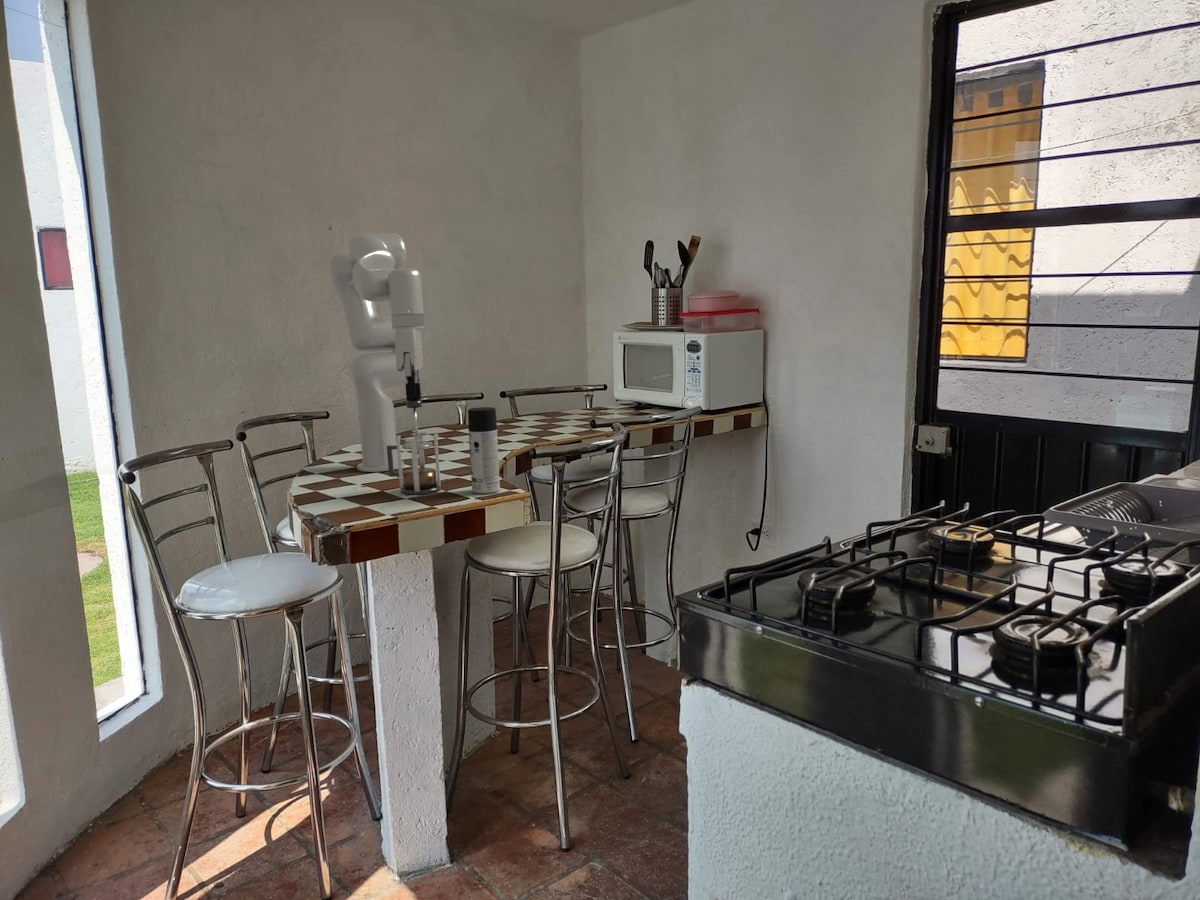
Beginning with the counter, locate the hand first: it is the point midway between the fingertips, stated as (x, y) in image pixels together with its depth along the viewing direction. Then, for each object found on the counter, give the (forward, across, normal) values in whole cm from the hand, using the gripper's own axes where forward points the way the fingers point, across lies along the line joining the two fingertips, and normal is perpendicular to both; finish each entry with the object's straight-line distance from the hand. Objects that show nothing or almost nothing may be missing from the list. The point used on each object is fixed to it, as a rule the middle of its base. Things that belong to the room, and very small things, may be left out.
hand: (414, 399), depth 207 cm
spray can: (+23, +3, +16) cm, 28 cm away
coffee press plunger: (+11, 0, 0) cm, 11 cm away
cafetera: (+22, 0, -1) cm, 22 cm away
